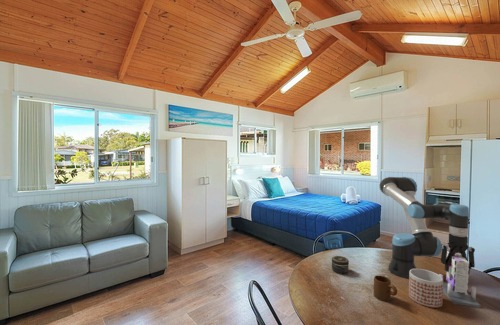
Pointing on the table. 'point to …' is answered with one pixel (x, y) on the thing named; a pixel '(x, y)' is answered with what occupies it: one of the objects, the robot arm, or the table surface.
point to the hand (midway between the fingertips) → (456, 278)
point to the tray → (460, 296)
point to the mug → (383, 288)
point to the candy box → (459, 274)
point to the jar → (340, 264)
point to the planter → (426, 288)
